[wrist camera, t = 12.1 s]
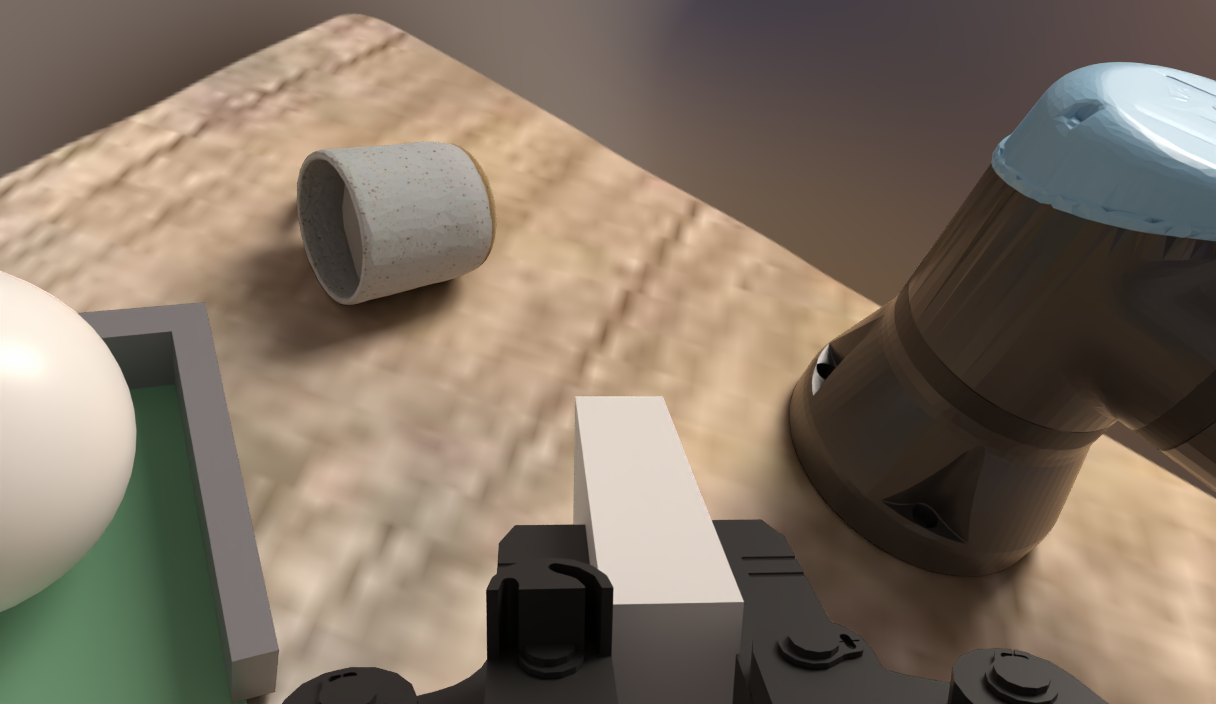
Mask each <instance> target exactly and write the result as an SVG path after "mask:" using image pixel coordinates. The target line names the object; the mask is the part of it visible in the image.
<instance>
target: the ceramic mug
mask: <svg viewBox="0 0 1216 704" xmlns="http://www.w3.org/2000/svg"><path fill="white" fill-rule="evenodd" d="M297 208H298V219H299V224H300V230H301V236H302V239H303V243H304V247H305V251H306V254H307V257H308V260H309V262H310V264H311V266H312V268H313V271H314V273H315V274H316V277H317V279H318V281H319V282H320V284H321V285H322V287H323V288H324V290H325V291H326V292H327V293H328V295H329V296H330V297H331V298H332V299H334V300H335V301H336V302H338V303H340V304H343V305H353V304H359V303H362V302H365V301H368V300H372V299H376V298H380V297H385V296H389V295H393V294H396V293H400V292H404V291H408V290H411V289H415V288H418V287H422V286H426V285H429V284H434V283H439V282H444V281H447V280H451V279H454V278H457V277H460V276H462V275H464V274H467V273H469V272H471V271H473V270H475V269H476V268H478V267H479V266H481V265H482V264H483V263H484V262H485V261H486V259H487V257H488V256H489V254H490V251H491V249H492V247H493V243H494V239H495V234H496V225H497V223H496V207H495V201H494V197H493V194H492V190H491V187H490V184H489V181H488V178H487V176H486V175H485V173H484V171H483V169H482V168H481V166H480V165H479V163H478V162H477V161H476V159H475V158H474V157H473V156H472V155H471V154H470V153H469V152H468V151H466V150H465V149H463V148H462V147H460V146H457V145H454V144H449V143H439V142H415V143H405V144H396V145H386V146H369V147H353V148H340V149H325V150H319V151H316V152H313V153H311V154H310V155H309V156H307V158H306V159H305V161H304V162H303V164H302V167H301V169H300V173H299V178H298V182H297Z"/></svg>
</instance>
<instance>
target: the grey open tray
mask: <svg viewBox="0 0 1216 704" xmlns="http://www.w3.org/2000/svg"><path fill="white" fill-rule="evenodd" d="M77 314H79V315H80V316H81V317H82V318H83V319H84V320H85V321H86V322H87V323H88V324H89V325H90V326H91V327H92V328H93V329H94V330H95V331H96V333H97V334H98V335H99V336H100V337H101V339H102V340H103V341H104V342H105V344H106V345H107V347H108V348H109V350H110V351H111V353H112V355H113V356H114V358H115V360H116V361H117V363H118V365H119V367H120V369H121V371H122V373H123V376H124V378H125V380H126V383H127V385H128V388H129V390H130V389H138V388H146V387H155V386H163V385H172V384H175V387H176V393H177V398H178V404H179V410H180V415H181V421H182V427H183V432H184V438H185V444H186V449H187V455H188V461H189V466H190V472H191V477H192V483H193V489H194V494H195V500H196V506H197V511H198V517H199V523H200V528H201V534H202V540H203V545H204V551H205V557H206V562H207V568H208V573H209V579H210V585H211V590H212V596H213V602H214V607H215V613H216V619H217V624H218V630H219V636H220V641H221V647H222V653H223V658H224V664H225V670H226V675H227V681H228V686H229V692H230V698H231V703H235V702H239V701H243V700H246V699H250V698H254V697H258V696H261V695H265V694H269V693H272V692H275V687H276V676H277V665H278V654H279V648H278V644H277V639H276V634H275V630H274V625H273V620H272V615H271V611H270V606H269V601H268V597H267V592H266V587H265V583H264V578H263V573H262V568H261V564H260V559H259V554H258V550H257V545H256V540H255V535H254V531H253V526H252V521H251V517H250V512H249V507H248V503H247V498H246V493H245V488H244V484H243V479H242V474H241V470H240V465H239V460H238V455H237V451H236V446H235V441H234V437H233V432H232V427H231V423H230V418H229V413H228V408H227V404H226V399H225V394H224V390H223V385H222V380H221V375H220V371H219V366H218V361H217V357H216V352H215V347H214V343H213V338H212V333H211V328H210V324H209V319H208V314H207V310H206V305H205V302H203V303H191V304H179V305H167V306H155V307H143V308H131V309H120V310H108V311H96V312H84V313H77Z"/></svg>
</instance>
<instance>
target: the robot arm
mask: <svg viewBox="0 0 1216 704" xmlns="http://www.w3.org/2000/svg"><path fill="white" fill-rule="evenodd" d="M992 156H993V159H992V162H991V164H990V166H989V167H988V169H987V170H986V171H985V173H984V174H983V176H982V177H981V179H980V180H979V181H978V183H977V184H976V186H975V187H974V189H973V190H972V191H971V193H970V194H969V196H968V197H967V198H966V200H965V201H964V203H963V204H962V206H961V207H960V208H959V210H958V211H957V213H956V214H955V216H954V217H953V218H952V220H951V221H950V223H949V224H948V226H947V227H946V228H945V230H944V231H943V233H942V234H941V235H940V237H939V238H938V240H937V241H936V242H935V244H934V245H933V246H932V248H931V249H930V251H929V252H928V253H927V255H926V256H925V257H924V259H923V260H922V262H921V263H920V265H919V266H918V267H917V268H916V270H915V271H914V273H913V275H912V276H911V277H910V279H909V280H908V282H907V283H906V284H905V286H904V287H903V289H902V290H901V291H900V293H899V294H898V295H897V297H896V298H895V299H893V300H892V301H890V302H889V303H887V304H886V305H884V306H883V307H881V308H880V309H878V310H877V311H875V312H874V313H872V314H871V315H869V316H868V317H866V318H865V319H863V320H862V321H860V322H859V323H857V324H856V325H854V326H853V327H851V328H850V329H848V330H847V331H845V332H844V333H842V334H841V335H839V336H838V337H836V338H835V339H833V340H832V341H831V342H829V343H828V344H827V345H826V346H825V347H824V348H823V349H822V350H821V351H820V352H819V353H818V354H817V355H816V356H815V357H814V359H813V360H812V362H811V363H810V365H809V366H808V368H807V369H806V371H805V372H804V374H803V375H802V377H801V378H800V380H799V381H798V383H797V385H796V387H795V389H794V392H793V395H792V398H791V403H790V414H789V419H790V429H791V435H792V439H793V443H794V446H795V449H796V452H797V454H798V457H799V459H800V461H801V463H802V465H803V467H804V469H805V471H806V473H807V475H808V476H809V478H810V480H811V481H812V483H813V484H814V486H815V487H816V489H817V490H818V491H819V493H820V494H821V496H822V497H823V498H824V499H825V500H826V502H827V503H828V504H829V505H830V506H831V507H832V508H833V509H834V511H835V512H836V513H837V514H838V515H839V516H840V517H841V518H842V519H843V520H844V521H846V522H847V523H848V524H849V525H850V526H851V527H852V528H853V529H855V530H856V531H857V532H858V533H860V534H861V535H862V536H864V537H865V538H866V539H868V540H869V541H870V542H872V543H873V544H875V545H877V546H878V547H880V548H881V549H883V550H885V551H886V552H888V553H890V554H892V555H894V556H896V557H898V558H900V559H902V560H904V561H906V562H908V563H911V564H913V565H916V566H918V567H921V568H924V569H927V570H931V571H934V572H938V573H943V574H949V575H956V576H982V575H988V574H992V573H996V572H999V571H1002V570H1004V569H1006V568H1008V567H1010V566H1012V565H1013V564H1015V563H1016V562H1018V561H1019V560H1020V559H1021V558H1022V557H1023V556H1025V555H1026V554H1027V553H1028V552H1029V551H1030V550H1031V549H1033V548H1034V547H1035V546H1036V545H1037V544H1038V543H1040V542H1041V541H1042V540H1043V539H1044V538H1045V537H1046V535H1047V534H1048V533H1049V532H1050V530H1051V529H1052V528H1053V526H1054V525H1055V523H1056V521H1057V519H1058V517H1059V515H1060V512H1061V510H1062V508H1063V506H1064V504H1065V502H1066V499H1067V497H1068V495H1069V493H1070V491H1071V488H1072V486H1073V484H1074V482H1075V479H1076V477H1077V475H1078V473H1079V471H1080V468H1081V466H1082V464H1083V462H1084V460H1085V457H1086V455H1087V453H1088V451H1089V449H1090V446H1091V445H1092V444H1093V443H1094V442H1095V441H1096V440H1097V439H1098V438H1099V437H1100V436H1101V435H1102V434H1103V433H1104V432H1105V431H1106V430H1107V429H1108V428H1109V427H1110V426H1112V425H1113V424H1114V423H1115V422H1116V421H1120V422H1122V423H1123V424H1124V425H1126V426H1127V427H1129V428H1130V429H1132V430H1133V431H1134V432H1136V433H1137V434H1138V435H1140V436H1141V437H1143V438H1144V439H1145V440H1147V441H1148V442H1150V443H1151V444H1152V445H1154V446H1155V447H1156V448H1157V449H1158V450H1160V451H1161V452H1163V453H1164V454H1165V455H1167V456H1168V457H1169V458H1171V459H1172V460H1173V461H1175V462H1176V463H1177V464H1179V465H1180V466H1181V467H1183V468H1184V469H1185V470H1187V471H1188V472H1189V473H1191V474H1192V475H1193V476H1194V477H1196V478H1197V479H1199V480H1200V481H1201V482H1202V483H1204V484H1205V485H1206V486H1208V487H1209V488H1210V489H1212V490H1213V491H1214V492H1216V81H1214V80H1211V79H1208V78H1205V77H1202V76H1198V75H1195V74H1191V73H1187V72H1184V71H1180V70H1176V69H1172V68H1166V67H1162V66H1156V65H1147V64H1142V63H1130V62H1129V63H1128V62H1111V63H1101V64H1095V65H1090V66H1087V67H1083V68H1080V69H1077V70H1075V71H1073V72H1071V73H1069V74H1067V75H1065V76H1063V77H1062V78H1061V79H1059V80H1058V81H1056V82H1055V83H1054V84H1053V85H1052V86H1051V87H1050V88H1049V89H1048V90H1047V91H1046V92H1045V93H1044V95H1043V96H1042V97H1041V98H1040V99H1039V101H1038V102H1037V103H1036V104H1035V106H1034V107H1033V108H1032V109H1031V111H1030V112H1029V113H1028V115H1027V116H1026V117H1025V118H1024V119H1023V121H1022V122H1021V123H1020V125H1019V126H1018V127H1017V128H1016V130H1015V131H1014V132H1013V133H1012V134H1011V135H1009V136H1007V137H1006V138H1005V139H1003V140H1002V141H1001V142H1000V143H999V144H998V146H997V147H996V149H995V151H994V152H993V154H992ZM486 602H487V660H486V662H485V663H484V665H483V666H482V667H481V668H480V669H479V670H478V671H477V672H475V673H474V674H473V675H472V676H471V677H469V678H467V679H465V680H463V681H462V682H460V683H458V684H456V685H454V686H451V687H448V688H445V689H442V690H439V691H435V692H431V693H427V694H423V695H419V696H416V693H415V691H414V689H413V686H412V684H411V683H410V682H408V681H407V680H405V679H404V678H403V677H401V676H400V675H399V674H397V673H394V672H391V671H387V670H383V669H380V668H376V667H350V668H345V669H341V670H336V671H332V672H328V673H324V674H322V675H320V676H318V677H316V678H314V679H312V680H310V681H308V682H306V683H303V684H302V685H301V686H300V687H298V688H297V689H296V690H295V691H294V692H293V693H292V694H291V695H289V696H288V697H287V698H286V699H285V700H284V702H283V703H282V704H1108V703H1107V702H1105V701H1104V700H1103V699H1102V698H1100V697H1099V696H1098V695H1097V694H1095V693H1094V692H1093V691H1091V690H1090V689H1089V688H1088V687H1086V686H1085V685H1084V684H1082V683H1081V682H1080V681H1079V680H1077V679H1076V678H1075V677H1074V676H1072V675H1071V674H1069V673H1068V672H1066V671H1064V670H1063V669H1061V668H1059V667H1058V666H1056V665H1055V664H1053V663H1051V662H1049V661H1047V660H1044V659H1041V658H1039V657H1036V656H1033V655H1031V654H1029V653H1026V652H1022V651H1018V650H1014V651H1013V650H1011V649H1002V648H994V649H977V650H974V651H972V652H969V653H966V654H964V655H961V656H960V658H959V659H958V660H957V662H956V663H955V664H954V666H953V668H952V675H951V681H950V683H948V682H942V681H936V680H931V679H925V678H920V677H914V676H909V675H904V674H900V673H896V672H892V671H889V670H886V669H884V668H883V667H882V665H881V664H880V662H879V660H878V658H877V657H876V655H875V653H874V652H873V650H872V648H871V647H870V646H869V645H868V644H867V643H866V642H865V641H864V640H863V639H862V638H861V636H859V635H857V634H856V633H854V632H852V631H850V630H849V629H847V628H845V627H843V626H842V625H838V624H835V623H832V622H830V621H829V619H828V617H827V615H826V613H825V611H824V610H823V608H822V606H821V604H820V602H819V600H818V598H817V597H816V595H815V593H814V591H813V589H812V587H811V585H810V583H809V582H808V580H807V578H806V576H804V575H803V570H802V569H801V567H800V565H799V563H798V561H797V560H795V556H794V554H793V552H792V550H791V548H790V546H789V544H788V542H787V541H786V539H785V537H784V536H783V535H782V534H780V533H779V532H777V531H776V530H775V529H773V528H772V527H770V526H769V525H768V524H766V523H765V522H764V521H762V520H711V518H710V515H709V512H708V510H707V507H706V505H705V502H704V500H703V497H702V495H701V492H700V490H699V487H698V485H697V482H696V480H695V477H694V475H693V472H692V469H691V467H690V464H689V462H688V459H687V457H686V454H685V452H684V449H683V447H682V444H681V442H680V439H679V437H678V434H677V432H676V429H675V426H674V424H673V421H672V419H671V416H670V414H669V411H668V409H667V406H666V404H665V401H664V399H663V396H575V450H574V513H573V525H515V526H514V527H513V528H512V529H511V530H510V532H509V533H508V534H507V535H506V536H505V537H504V538H503V539H502V540H501V542H500V543H499V551H498V567H497V574H496V575H495V576H493V577H492V579H491V581H490V583H489V585H488V587H487V590H486Z"/></svg>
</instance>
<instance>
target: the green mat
mask: <svg viewBox="0 0 1216 704" xmlns="http://www.w3.org/2000/svg"><path fill="white" fill-rule="evenodd" d="M129 391H130V395H131V399H132V403H133V407H134V412H135V422H136V452H135V458H134V463H133V468H132V473H131V477H130V480H129V483H128V486H127V489H126V492H125V495H124V497H123V500H122V502H121V504H120V505H119V507H118V509H117V511H116V513H115V515H114V517H113V519H112V521H111V522H110V524H109V525H108V527H107V528H106V530H105V531H104V533H103V534H102V536H101V537H100V539H99V540H98V541H97V542H96V543H95V545H94V546H93V547H92V548H91V549H90V550H89V551H88V553H87V554H86V555H85V556H84V557H83V558H82V559H81V560H80V561H79V562H78V563H77V564H76V565H75V566H73V567H72V568H71V569H70V570H69V571H68V572H67V573H66V574H65V575H64V576H62V577H61V578H59V579H58V580H57V581H55V582H54V583H52V584H51V585H50V586H48V587H47V588H45V589H44V590H43V591H41V592H39V593H37V594H36V595H34V596H32V597H30V598H28V599H27V600H25V601H23V602H21V603H20V604H18V605H16V606H14V607H12V608H9V609H7V610H4V611H2V612H0V704H247V701H246V700H243V701H239V702H235V703H231V698H230V692H229V686H228V681H227V675H226V670H225V664H224V658H223V653H222V647H221V641H220V636H219V630H218V624H217V619H216V613H215V607H214V602H213V596H212V590H211V585H210V579H209V573H208V568H207V562H206V557H205V551H204V545H203V540H202V534H201V528H200V523H199V517H198V511H197V506H196V500H195V494H194V489H193V483H192V477H191V472H190V466H189V461H188V455H187V449H186V444H185V438H184V432H183V427H182V421H181V415H180V410H179V404H178V398H177V393H176V387H175V384H172V385H163V386H155V387H146V388H138V389H130V390H129Z"/></svg>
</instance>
